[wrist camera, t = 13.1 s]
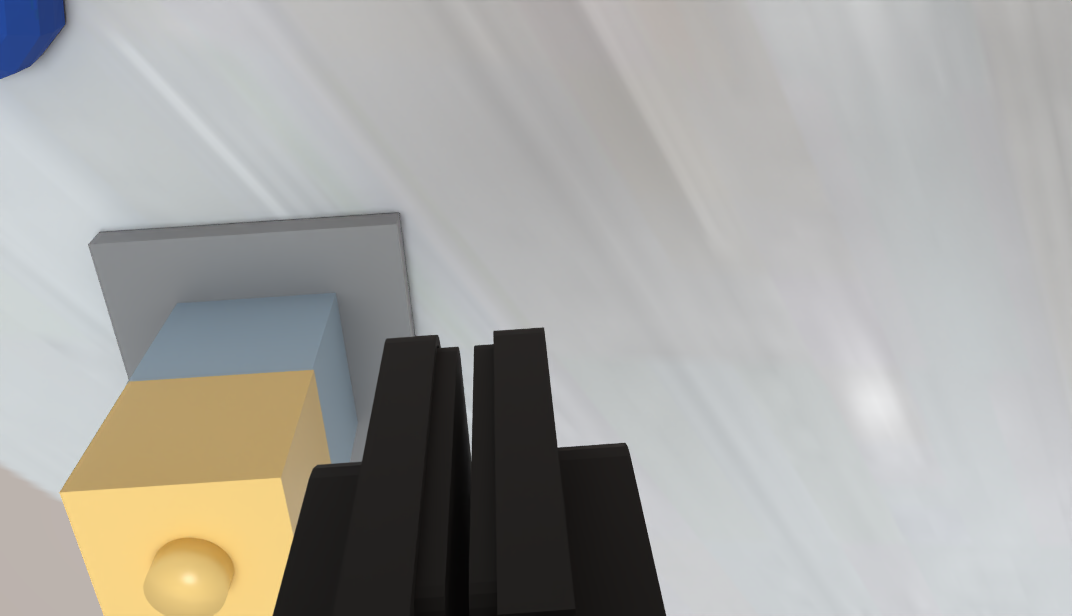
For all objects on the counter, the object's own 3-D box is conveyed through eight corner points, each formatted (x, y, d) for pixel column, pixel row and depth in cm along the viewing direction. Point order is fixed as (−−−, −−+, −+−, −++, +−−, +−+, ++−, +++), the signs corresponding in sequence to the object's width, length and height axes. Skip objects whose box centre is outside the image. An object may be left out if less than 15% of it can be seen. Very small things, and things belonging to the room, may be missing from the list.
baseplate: (399, 212, 38) (394, 234, 36) (429, 453, 43) (427, 483, 41) (99, 232, 38) (78, 255, 36) (169, 471, 43) (154, 503, 41)
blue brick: (335, 292, 38) (307, 386, 32) (357, 423, 41) (335, 531, 35) (177, 303, 38) (116, 398, 32) (210, 433, 41) (161, 543, 35)
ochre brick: (313, 369, 33) (274, 500, 26) (340, 512, 36) (310, 660, 29) (128, 381, 32) (45, 514, 26) (170, 524, 35) (104, 674, 29)
